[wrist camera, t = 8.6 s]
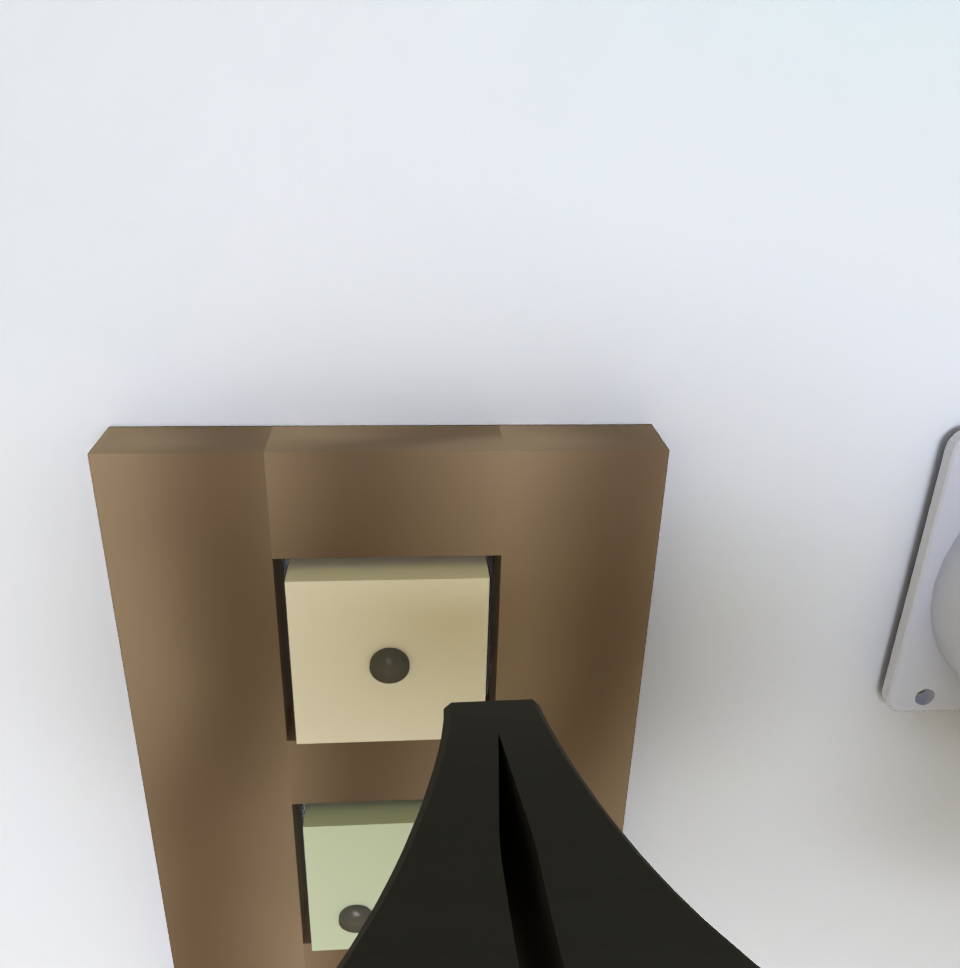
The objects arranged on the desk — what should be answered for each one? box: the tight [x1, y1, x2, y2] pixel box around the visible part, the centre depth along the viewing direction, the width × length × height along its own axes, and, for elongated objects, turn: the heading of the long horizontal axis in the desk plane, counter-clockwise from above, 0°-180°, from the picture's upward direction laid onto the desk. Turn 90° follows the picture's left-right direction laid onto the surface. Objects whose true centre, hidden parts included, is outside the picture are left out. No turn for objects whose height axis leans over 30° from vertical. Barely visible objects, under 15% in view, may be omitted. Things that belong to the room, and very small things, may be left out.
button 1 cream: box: [285, 556, 490, 744], centre depth 21 cm, size 4×4×2 cm
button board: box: [88, 425, 669, 968], centre depth 25 cm, size 12×24×2 cm, turn 179°
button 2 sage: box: [303, 799, 423, 951], centre depth 24 cm, size 4×4×2 cm
